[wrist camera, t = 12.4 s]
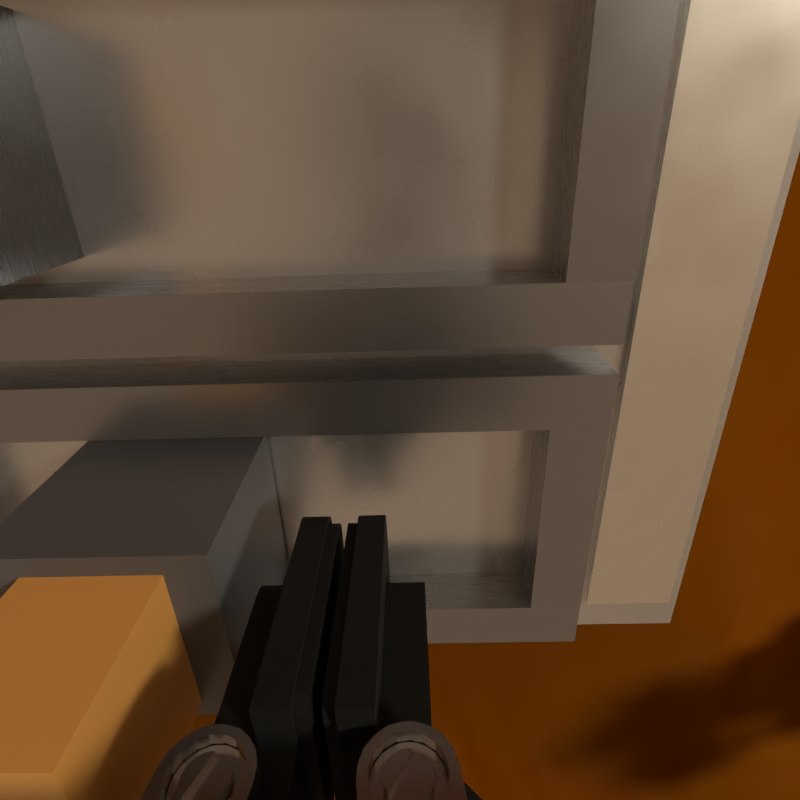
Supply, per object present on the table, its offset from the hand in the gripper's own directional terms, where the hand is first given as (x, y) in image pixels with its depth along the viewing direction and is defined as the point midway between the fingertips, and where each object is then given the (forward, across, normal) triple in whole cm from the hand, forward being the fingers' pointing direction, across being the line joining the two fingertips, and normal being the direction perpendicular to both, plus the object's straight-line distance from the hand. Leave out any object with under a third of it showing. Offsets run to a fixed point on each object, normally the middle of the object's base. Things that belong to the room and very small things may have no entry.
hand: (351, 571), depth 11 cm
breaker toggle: (+2, +4, 0) cm, 5 cm away
